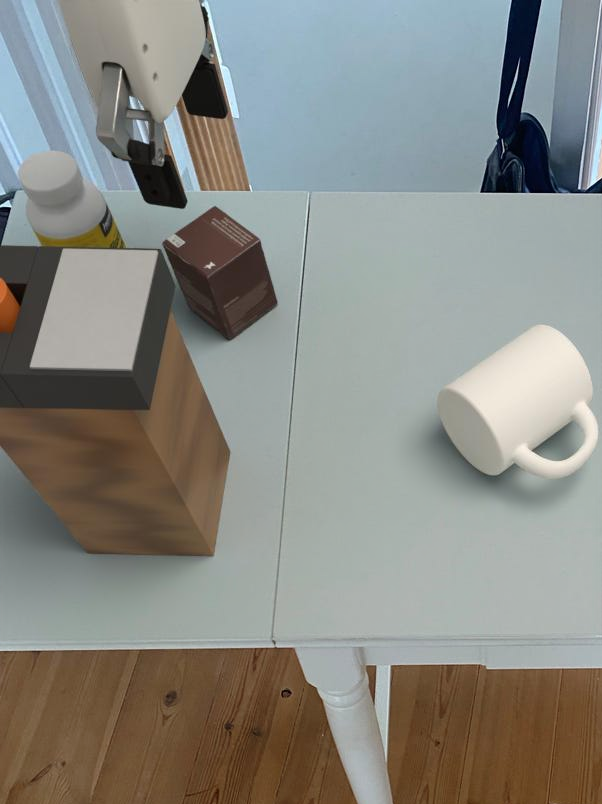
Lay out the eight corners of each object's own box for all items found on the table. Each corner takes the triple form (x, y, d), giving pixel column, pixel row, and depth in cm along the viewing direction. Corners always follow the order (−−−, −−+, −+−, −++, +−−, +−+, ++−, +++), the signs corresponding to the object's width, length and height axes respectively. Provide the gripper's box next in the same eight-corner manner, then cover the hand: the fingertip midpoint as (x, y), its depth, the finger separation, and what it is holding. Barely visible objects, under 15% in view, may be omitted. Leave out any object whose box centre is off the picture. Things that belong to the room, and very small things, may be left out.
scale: (-49, 406, 53) (-80, 370, 50) (-9, 281, 57) (-35, 241, 54) (150, 410, 53) (131, 374, 50) (176, 285, 57) (160, 245, 54)
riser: (87, 553, 69) (-33, 407, 53) (111, 448, 73) (6, 282, 57) (213, 556, 69) (133, 410, 53) (230, 451, 73) (160, 285, 57)
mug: (437, 433, 74) (434, 369, 67) (524, 372, 77) (530, 304, 70) (533, 525, 71) (540, 468, 63) (621, 458, 73) (637, 396, 66)
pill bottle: (132, 310, 79) (79, 200, 69) (60, 309, 79) (-3, 198, 69) (144, 257, 82) (95, 143, 71) (75, 256, 82) (15, 141, 71)
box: (280, 305, 80) (262, 239, 73) (229, 342, 78) (206, 278, 71) (236, 270, 81) (215, 203, 75) (185, 306, 80) (159, 240, 73)
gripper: (89, -196, 54) (178, 76, 70) (-26, -25, 48) (100, 234, 63) (206, -183, 54) (268, 88, 69) (105, -8, 47) (199, 248, 63)
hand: (188, 157), depth 66 cm, fingers open, 9 cm apart
